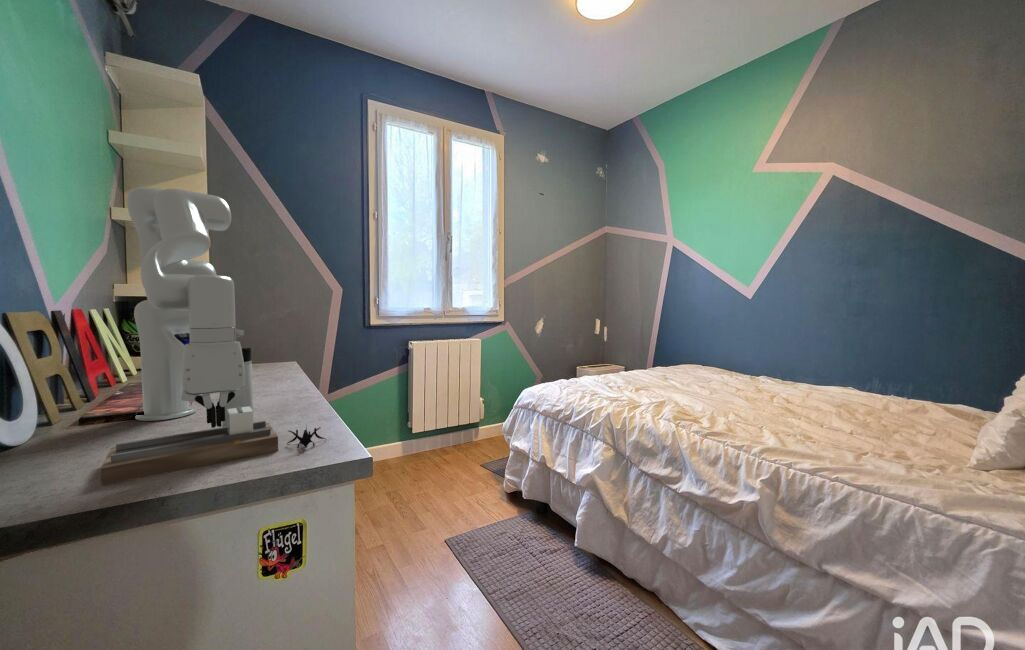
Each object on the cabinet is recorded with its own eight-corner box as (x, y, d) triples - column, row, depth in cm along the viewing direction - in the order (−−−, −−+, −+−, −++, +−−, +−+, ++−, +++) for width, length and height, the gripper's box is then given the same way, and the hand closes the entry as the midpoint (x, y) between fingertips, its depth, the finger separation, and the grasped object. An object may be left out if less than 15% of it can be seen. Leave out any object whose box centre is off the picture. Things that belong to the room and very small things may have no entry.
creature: (288, 447, 89) (282, 451, 81) (288, 422, 89) (283, 425, 82) (327, 442, 92) (325, 446, 84) (326, 419, 92) (325, 421, 85)
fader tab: (228, 432, 85) (227, 408, 84) (250, 428, 87) (249, 405, 87) (230, 438, 81) (229, 413, 81) (253, 434, 83) (252, 409, 83)
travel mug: (239, 434, 94) (236, 349, 92) (215, 431, 95) (213, 348, 94) (260, 426, 100) (258, 346, 99) (238, 424, 101) (236, 345, 100)
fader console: (111, 463, 76) (110, 441, 76) (269, 435, 93) (268, 417, 92) (101, 485, 67) (100, 461, 67) (278, 450, 83) (277, 430, 83)
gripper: (254, 333, 88) (256, 415, 89) (165, 336, 79) (168, 428, 80) (259, 336, 82) (261, 423, 83) (163, 339, 73) (167, 438, 74)
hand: (216, 425), depth 81 cm, fingers closed
